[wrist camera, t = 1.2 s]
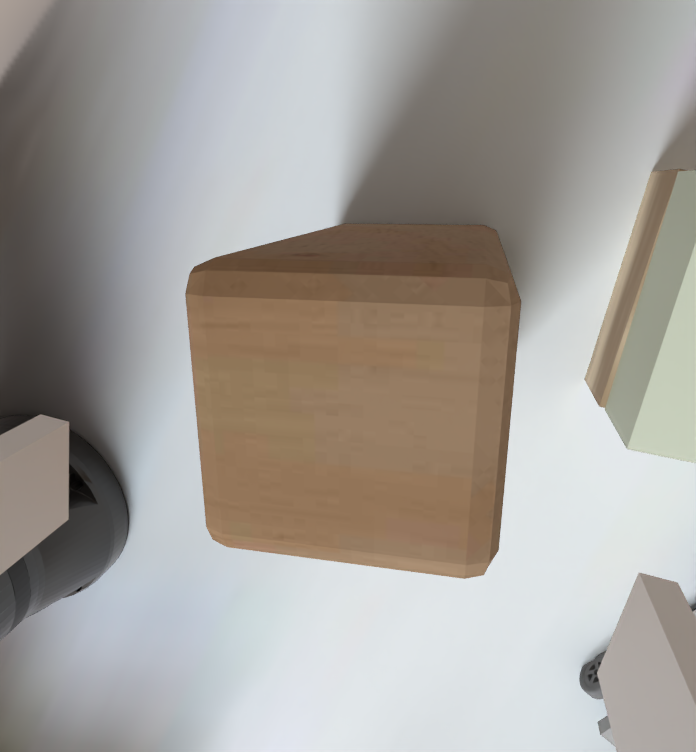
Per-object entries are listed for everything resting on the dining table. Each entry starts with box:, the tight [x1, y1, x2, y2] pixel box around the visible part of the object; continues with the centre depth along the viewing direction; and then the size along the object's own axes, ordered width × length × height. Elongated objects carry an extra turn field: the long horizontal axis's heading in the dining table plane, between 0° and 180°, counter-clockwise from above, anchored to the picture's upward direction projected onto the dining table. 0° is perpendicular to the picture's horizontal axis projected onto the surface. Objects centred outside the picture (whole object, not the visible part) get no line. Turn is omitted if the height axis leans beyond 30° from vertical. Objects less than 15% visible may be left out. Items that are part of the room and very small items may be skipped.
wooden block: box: [185, 224, 521, 579], centre depth 27 cm, size 10×10×20 cm
